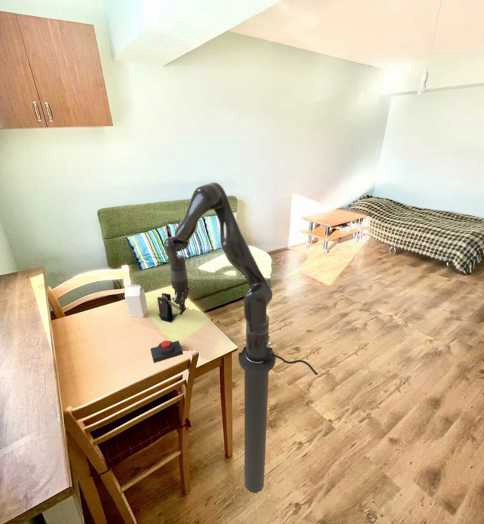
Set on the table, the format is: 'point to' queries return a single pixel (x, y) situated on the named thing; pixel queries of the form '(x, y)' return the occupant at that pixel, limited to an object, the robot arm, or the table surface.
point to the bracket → (165, 309)
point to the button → (165, 344)
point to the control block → (166, 352)
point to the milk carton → (136, 301)
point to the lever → (174, 305)
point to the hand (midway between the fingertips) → (182, 309)
